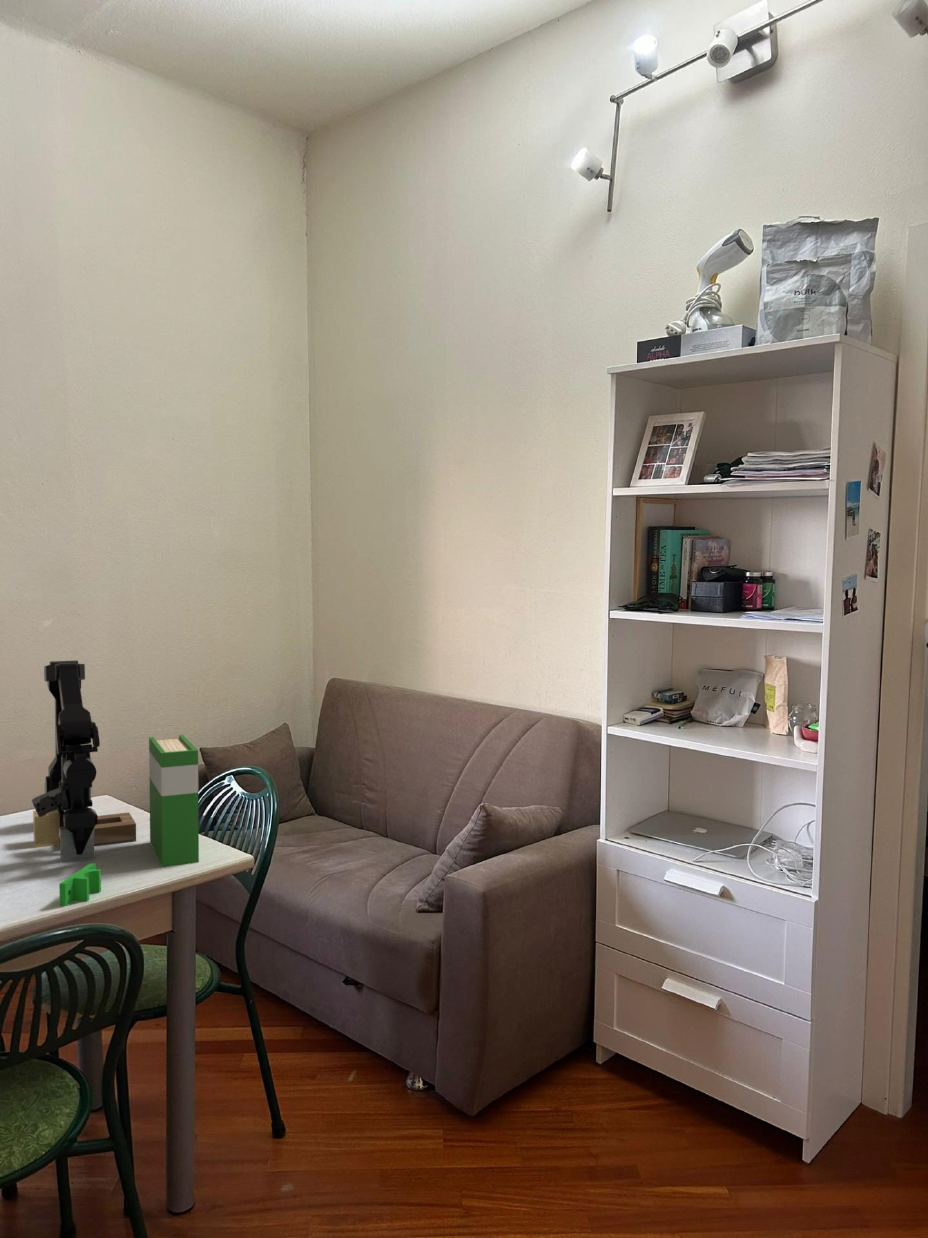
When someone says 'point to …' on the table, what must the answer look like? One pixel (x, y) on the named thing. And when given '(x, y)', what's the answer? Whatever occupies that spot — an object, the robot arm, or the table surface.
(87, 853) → the block
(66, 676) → the robot arm
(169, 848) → the hardback book
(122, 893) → the table surface
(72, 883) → the green finned bracket
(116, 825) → the socket block
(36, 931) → the table surface
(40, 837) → the square bit
